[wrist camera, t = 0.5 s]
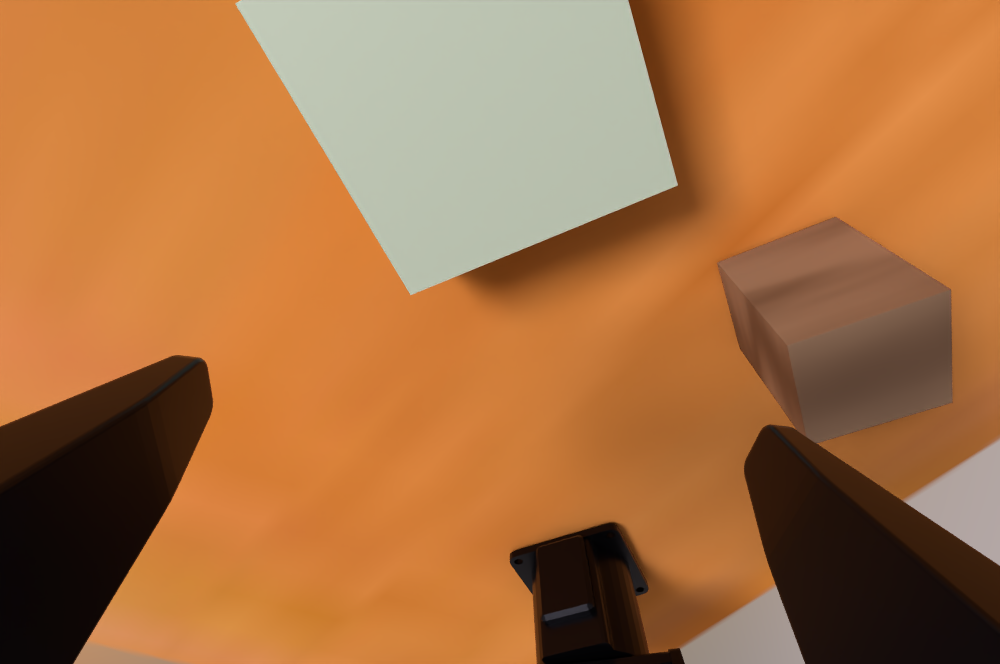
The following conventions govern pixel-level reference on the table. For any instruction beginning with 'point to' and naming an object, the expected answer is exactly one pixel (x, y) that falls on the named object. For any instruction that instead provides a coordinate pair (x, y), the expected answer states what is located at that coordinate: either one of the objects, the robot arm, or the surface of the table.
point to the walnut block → (841, 329)
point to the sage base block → (471, 118)
